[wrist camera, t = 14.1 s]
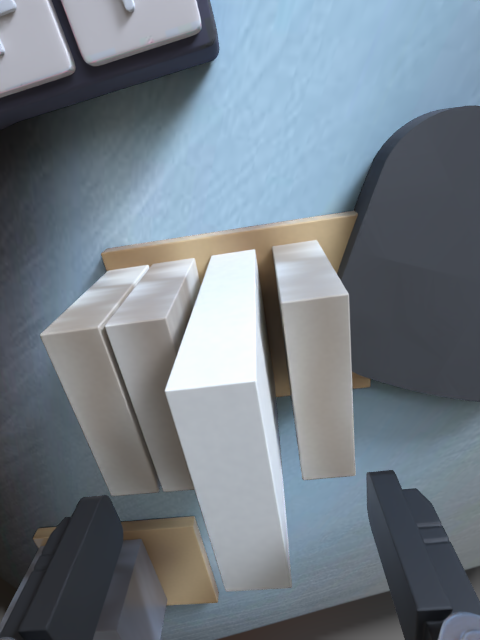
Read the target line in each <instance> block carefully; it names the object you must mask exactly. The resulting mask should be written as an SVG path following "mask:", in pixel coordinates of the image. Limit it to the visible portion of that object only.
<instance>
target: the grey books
mask: <svg viewBox="0 0 480 640" xmlns="http://www.w3.org/2000/svg"><path fill="white" fill-rule="evenodd" d="M121 524H122V527H123V544H122V548H121V552H120V555H119V558H118V561H117V564H116V568H115V571H114V574H113V577H112V580H111V583H110V587H109V590H108V593H107V596H106V599H105V602H104V606H103V609H102V612H101V615H100V618H99V621H98V625H97V628H96V631H95V634H94V637H93V640H160V638H161V633H162V627H163V622H164V616H165V611H166V606H167V605H183V604H201V603H217V602H218V593H219V592H218V588H217V585H216V582H215V579H214V576H213V573H212V570H211V566H210V563H209V560H208V557H207V554H206V551H205V548H204V544H203V541H202V538H201V535H200V532H199V529H198V526H197V523H196V519H195V517H194V516H190V517H177V518H164V519H151V520H138V521H125V522H121ZM55 528H56V527H48V528H38V530H37V531H36V533H35V535H34V537H33V540H34V542H35V543H36V545H37V547H38V548H39V549H38V551H37V553H36V555H35V557H34V559H33V561H32V563H31V565H30V567H29V569H28V570H27V572H26V574H25V576H24V578H23V580H22V582H21V584H20V586H19V588H18V590H17V592H16V594H15V596H14V598H13V599H12V601H11V603H10V606H9V607H8V609H7V611H6V613H5V615H4V617H3V619H2V621H1V623H0V633H1V631H2V629H3V628H4V626H5V624H6V622H7V620H8V618H9V616H10V614H11V612H12V610H13V608H14V606H15V604H16V602H17V600H18V598H19V596H20V594H21V592H22V590H23V588H24V586H25V584H26V582H27V580H28V578H29V576H30V574H31V572H32V571H34V566H35V564H36V562H37V560H38V558H39V556H41V555H42V550H43V548H44V546H45V544H46V542H47V540H48V538H49V536H50V534H51V533H52V532H53V531H54V530H55Z"/></svg>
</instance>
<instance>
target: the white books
mask: <svg viewBox="0 0 480 640" xmlns="http://www.w3.org/2000/svg"><path fill="white" fill-rule="evenodd" d="M357 216H358V213H357V212H355V211H348V212H342V213H335V214H329V215H322V216H316V217H309V218H303V219H296V220H290V221H283V222H277V223H270V224H264V225H257V226H251V227H244V228H238V229H231V230H225V231H218V232H212V233H205V234H199V235H192V236H186V237H179V238H173V239H166V240H160V241H153V242H147V243H140V244H134V245H127V246H121V247H114V248H108V249H106V250H105V251H103V252H102V253H101V256H102V259H103V262H104V265H105V268H106V271H107V272H106V273H105V274H104V275H103V276H102V277H101V278H100V279H99V280H98V281H97V282H95V283H94V284H93V285H92V286H91V287H90V288H89V289H88V290H87V291H86V292H85V293H84V294H83V295H82V296H81V297H79V298H78V299H77V300H76V301H75V302H74V303H73V304H72V305H71V306H70V307H69V308H68V309H67V310H66V311H65V312H64V313H62V314H61V315H60V316H59V317H58V318H57V319H56V320H55V321H54V322H53V323H52V324H51V325H50V326H49V327H48V328H46V329H45V330H44V331H43V332H42V333H41V334H40V337H41V339H42V341H43V344H44V346H45V348H46V350H47V353H48V355H49V357H50V359H51V362H52V364H53V366H54V368H55V370H56V373H57V375H58V377H59V379H60V382H61V384H62V386H63V388H64V391H65V393H66V395H67V397H68V400H69V402H70V404H71V406H72V409H73V411H74V413H75V415H76V417H77V420H78V422H79V424H80V426H81V429H82V431H83V433H84V435H85V438H86V440H87V442H88V444H89V447H90V449H91V451H92V453H93V456H94V458H95V460H96V462H97V464H98V467H99V469H100V471H101V473H102V476H103V478H104V480H105V482H106V485H107V487H108V489H109V491H110V494H111V496H122V495H133V494H145V493H157V492H159V490H160V486H162V489H163V491H164V492H171V491H183V490H194V486H193V483H192V479H191V476H190V473H189V470H188V466H187V463H186V460H185V457H184V453H183V450H182V447H181V444H180V440H179V437H178V434H177V430H176V427H175V424H174V421H173V417H172V414H171V411H170V408H169V404H168V401H167V398H166V395H165V388H166V385H167V382H168V379H169V376H170V374H171V371H172V368H173V365H174V362H175V359H176V356H177V353H178V351H179V348H180V345H181V342H182V339H183V336H184V333H185V330H186V328H187V325H188V322H189V319H190V316H191V313H192V310H193V307H194V305H195V302H196V299H197V296H198V293H199V290H200V287H201V284H202V282H203V279H204V276H205V273H206V270H207V267H208V264H209V261H210V259H211V256H213V255H219V254H226V253H233V252H239V251H246V250H253V249H255V252H256V259H257V266H258V272H259V279H260V286H261V293H262V300H263V306H264V313H265V320H266V327H267V334H268V340H269V347H270V354H271V361H272V367H273V374H274V381H275V390H276V397H282V396H291V401H292V409H293V416H294V423H295V430H296V437H297V444H298V451H299V459H300V466H301V473H302V479H303V480H312V479H323V478H335V477H347V476H355V446H354V419H353V391H352V389H357V388H366V387H370V386H371V379H369V378H366V377H363V376H360V375H358V374H356V373H354V372H352V363H351V336H350V308H349V294H348V292H347V290H346V289H345V287H344V285H343V284H342V282H341V280H340V278H339V277H338V275H337V272H338V269H339V266H340V263H341V260H342V257H343V254H344V252H345V249H346V246H347V243H348V240H349V237H350V235H351V232H352V229H353V227H354V224H355V221H356V219H357Z"/></svg>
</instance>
